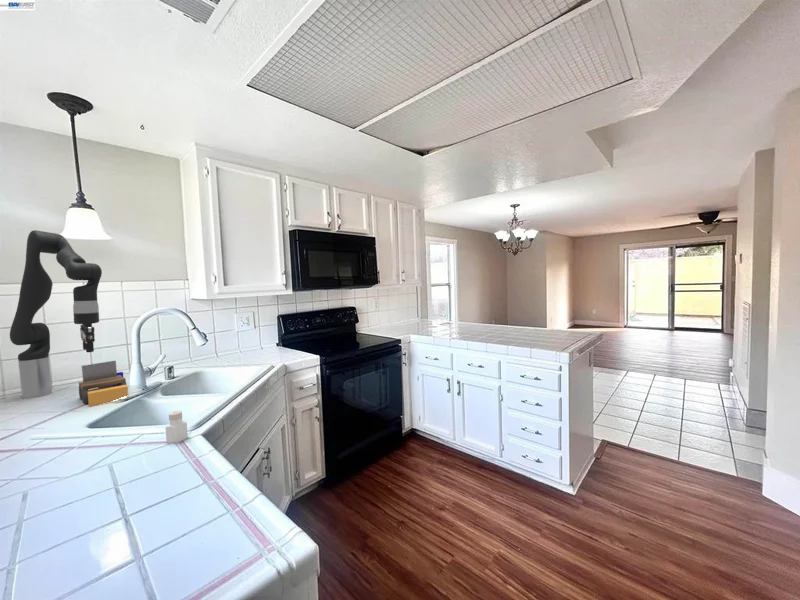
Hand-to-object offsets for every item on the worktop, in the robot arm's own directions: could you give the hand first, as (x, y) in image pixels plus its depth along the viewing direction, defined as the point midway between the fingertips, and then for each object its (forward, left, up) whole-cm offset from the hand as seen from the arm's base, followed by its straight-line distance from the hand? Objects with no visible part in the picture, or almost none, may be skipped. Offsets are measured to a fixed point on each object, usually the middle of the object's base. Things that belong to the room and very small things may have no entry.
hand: (88, 350), depth 135 cm
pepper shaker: (+74, +9, -22) cm, 78 cm away
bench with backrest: (-4, +4, -22) cm, 22 cm away
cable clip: (-19, +11, -22) cm, 31 cm away
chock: (+8, +4, -22) cm, 23 cm away
